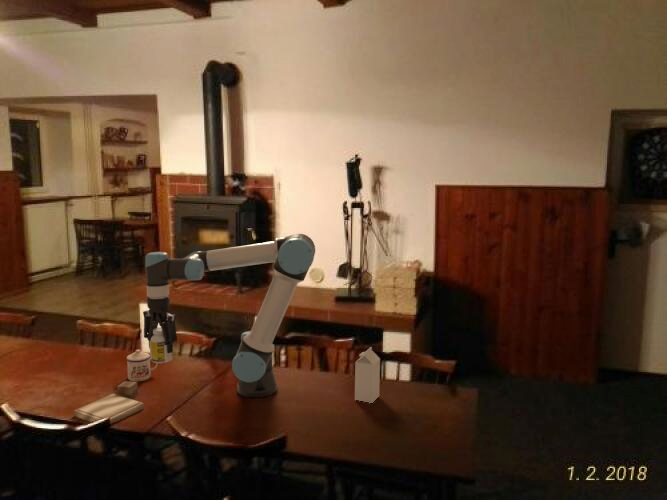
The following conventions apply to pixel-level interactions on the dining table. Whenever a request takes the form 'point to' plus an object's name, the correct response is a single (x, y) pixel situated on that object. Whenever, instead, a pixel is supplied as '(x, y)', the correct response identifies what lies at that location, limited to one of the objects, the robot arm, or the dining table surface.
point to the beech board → (109, 408)
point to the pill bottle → (157, 346)
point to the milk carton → (367, 377)
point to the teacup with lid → (139, 366)
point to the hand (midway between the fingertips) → (161, 359)
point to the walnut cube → (127, 389)
